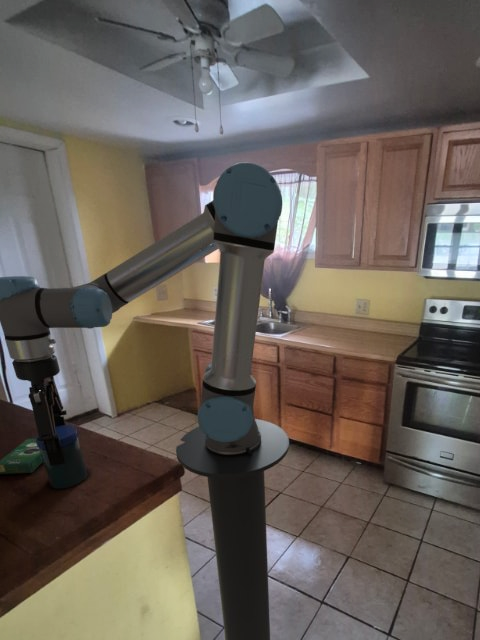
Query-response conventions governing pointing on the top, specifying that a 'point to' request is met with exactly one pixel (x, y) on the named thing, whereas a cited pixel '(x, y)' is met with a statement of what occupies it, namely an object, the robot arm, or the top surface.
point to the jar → (66, 467)
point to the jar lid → (62, 436)
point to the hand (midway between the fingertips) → (60, 452)
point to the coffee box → (22, 458)
